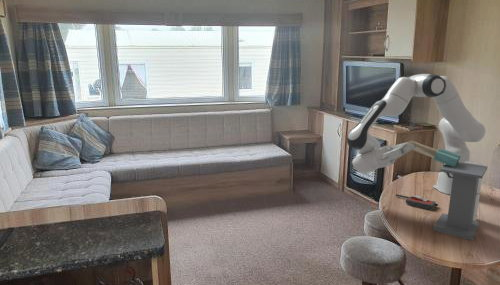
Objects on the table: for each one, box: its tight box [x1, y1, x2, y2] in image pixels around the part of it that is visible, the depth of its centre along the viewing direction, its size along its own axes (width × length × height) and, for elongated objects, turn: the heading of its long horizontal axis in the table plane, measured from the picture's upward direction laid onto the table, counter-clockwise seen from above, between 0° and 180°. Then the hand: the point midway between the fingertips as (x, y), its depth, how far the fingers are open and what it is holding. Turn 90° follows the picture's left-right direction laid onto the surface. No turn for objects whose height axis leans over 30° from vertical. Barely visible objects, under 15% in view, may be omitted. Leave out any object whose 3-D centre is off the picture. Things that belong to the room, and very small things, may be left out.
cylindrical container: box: [465, 160, 485, 221], centre depth 162 cm, size 7×7×25 cm
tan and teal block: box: [407, 140, 461, 167], centre depth 157 cm, size 8×20×4 cm, turn 52°
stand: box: [433, 162, 488, 241], centre depth 152 cm, size 16×14×26 cm
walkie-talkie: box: [395, 193, 439, 211], centre depth 181 cm, size 9×4×20 cm
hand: (416, 144), depth 161 cm, fingers closed on tan and teal block, 3 cm apart
